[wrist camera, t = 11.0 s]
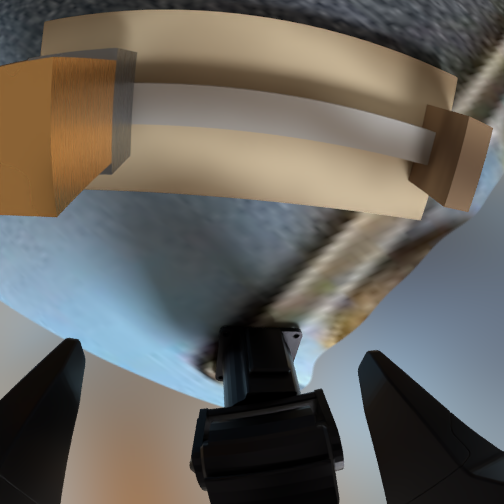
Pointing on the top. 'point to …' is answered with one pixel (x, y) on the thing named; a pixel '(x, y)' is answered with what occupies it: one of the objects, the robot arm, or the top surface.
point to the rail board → (263, 70)
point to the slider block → (62, 126)
